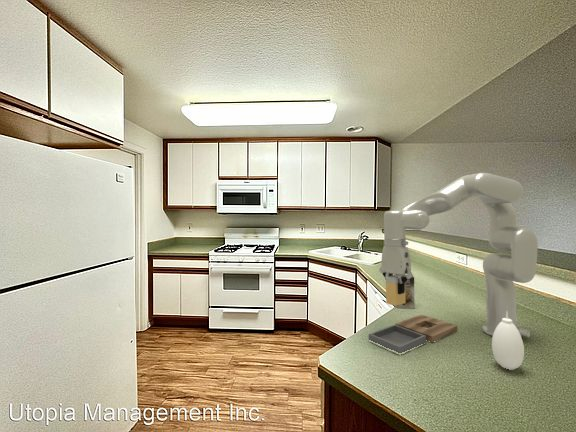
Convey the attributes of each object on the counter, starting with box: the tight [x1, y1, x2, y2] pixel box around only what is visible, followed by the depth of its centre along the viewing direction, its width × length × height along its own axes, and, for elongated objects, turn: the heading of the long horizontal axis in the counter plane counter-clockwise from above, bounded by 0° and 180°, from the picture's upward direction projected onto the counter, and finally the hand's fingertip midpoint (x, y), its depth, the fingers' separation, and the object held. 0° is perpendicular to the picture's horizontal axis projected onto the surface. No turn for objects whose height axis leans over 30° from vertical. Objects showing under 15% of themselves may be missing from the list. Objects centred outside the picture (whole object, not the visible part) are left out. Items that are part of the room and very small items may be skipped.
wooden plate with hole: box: [394, 314, 458, 343], centre depth 119 cm, size 16×18×2 cm
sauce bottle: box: [491, 311, 525, 371], centre depth 90 cm, size 8×8×18 cm
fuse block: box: [385, 274, 405, 307], centre depth 109 cm, size 4×6×10 cm, turn 123°
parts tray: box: [368, 324, 427, 353], centre depth 109 cm, size 14×16×3 cm
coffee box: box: [393, 274, 415, 310], centre depth 150 cm, size 9×6×16 cm
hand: (395, 291), depth 109 cm, fingers closed on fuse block, 4 cm apart
